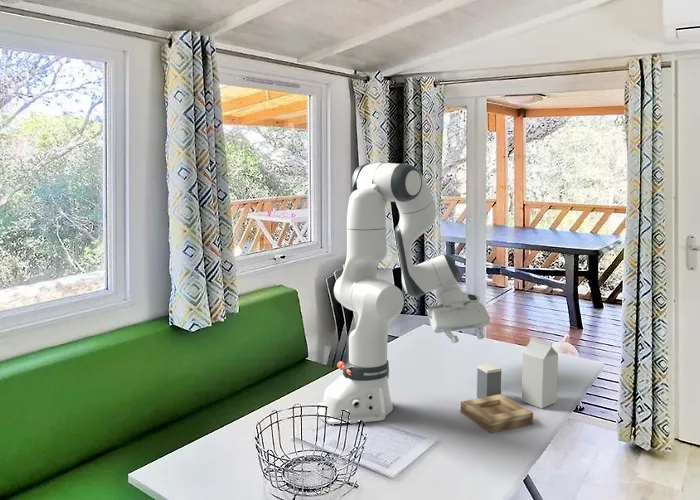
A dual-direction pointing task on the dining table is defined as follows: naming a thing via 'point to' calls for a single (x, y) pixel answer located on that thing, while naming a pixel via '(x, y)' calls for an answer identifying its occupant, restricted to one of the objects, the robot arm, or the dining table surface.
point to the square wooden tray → (496, 413)
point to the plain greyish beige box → (488, 380)
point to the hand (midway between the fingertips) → (468, 340)
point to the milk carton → (539, 373)
